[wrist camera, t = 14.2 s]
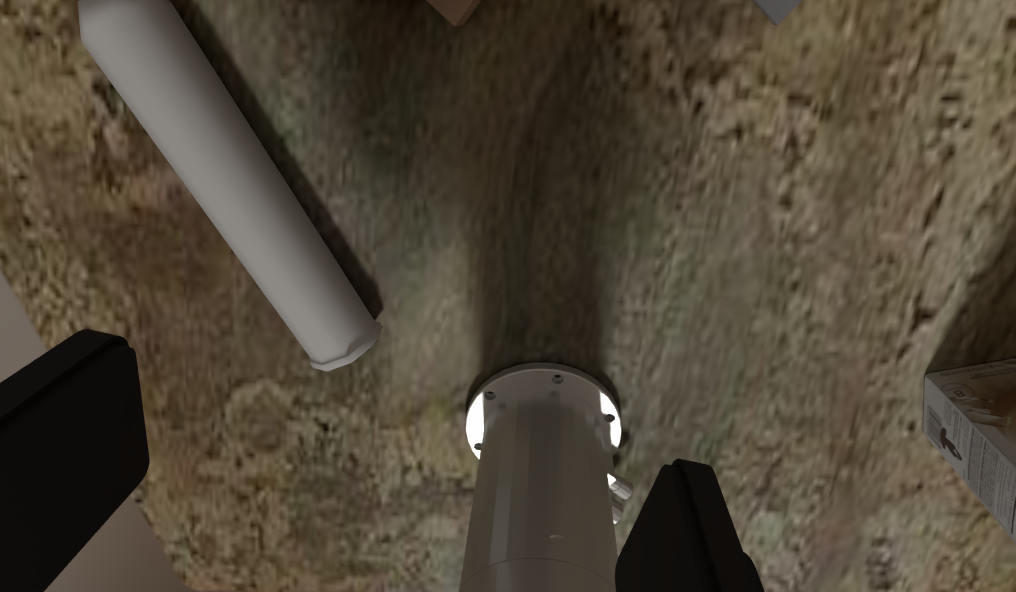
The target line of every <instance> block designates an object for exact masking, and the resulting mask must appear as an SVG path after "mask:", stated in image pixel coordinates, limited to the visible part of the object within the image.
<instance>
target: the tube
mask: <svg viewBox="0 0 1016 592" xmlns="http://www.w3.org/2000/svg"><path fill="white" fill-rule="evenodd" d="M78 10H79V22H80V33H81V42H82V43H83V44H84V46H85V47H86V49H87V50H88V51H89V53H90V54H91V56H92V57H93V58H94V60H95V61H96V62H97V64H98V65H99V67H100V68H101V69H102V71H103V72H104V73H105V75H106V76H107V78H108V79H109V80H110V82H111V83H112V84H113V86H114V87H115V89H116V90H117V91H118V93H119V94H120V96H121V97H122V98H123V100H124V101H125V102H126V104H127V105H128V107H129V108H130V109H131V111H132V112H133V113H134V115H135V116H136V118H137V119H138V120H139V122H140V123H141V125H142V126H143V127H144V129H145V130H146V131H147V133H148V134H149V136H150V137H151V138H152V140H153V141H154V142H155V144H156V145H157V147H158V148H159V149H160V151H161V152H162V153H163V155H164V156H165V158H166V159H167V160H168V162H169V163H170V165H171V166H172V167H173V169H174V170H175V171H176V173H177V174H178V176H179V177H180V178H181V180H182V181H183V182H184V184H185V185H186V187H187V188H188V189H189V191H190V192H191V193H192V195H193V196H194V198H195V199H196V200H197V202H198V203H199V205H200V206H201V207H202V209H203V210H204V211H205V213H206V214H207V216H208V217H209V218H210V220H211V221H212V222H213V224H214V225H215V227H216V228H217V229H218V231H219V232H220V233H221V235H222V236H223V238H224V239H225V240H226V242H227V243H228V245H229V246H230V247H231V249H232V250H233V251H234V253H235V254H236V256H237V257H238V258H239V260H240V261H241V262H242V264H243V265H244V267H245V268H246V269H247V271H248V272H249V274H250V275H251V276H252V278H253V279H254V280H255V282H256V283H257V285H258V286H259V287H260V289H261V290H262V291H263V293H264V294H265V296H266V297H267V298H268V300H269V301H270V302H271V304H272V305H273V307H274V308H275V309H276V311H277V312H278V314H279V315H280V316H281V318H282V319H283V320H284V322H285V323H286V325H287V326H288V327H289V329H290V330H291V331H292V333H293V334H294V336H295V337H296V338H297V340H298V341H299V342H300V344H301V345H302V347H303V348H304V349H305V351H306V352H307V354H308V355H309V357H310V358H311V361H310V364H311V365H312V367H313V368H316V369H320V370H324V371H330V370H332V369H335V368H338V367H341V366H344V365H346V364H349V363H352V362H353V361H354V360H356V359H357V358H358V357H359V356H360V355H361V354H363V353H364V352H365V351H366V350H367V349H369V348H370V347H371V346H372V345H373V344H374V343H375V341H376V339H377V337H378V336H379V334H380V332H381V330H382V328H383V327H382V325H381V324H380V322H375V320H374V319H373V318H372V316H371V315H370V313H369V311H368V310H367V308H366V307H365V305H364V304H363V302H362V300H361V299H360V297H359V296H358V294H357V293H356V291H355V290H354V288H353V286H352V285H351V283H350V282H349V280H348V279H347V277H346V275H345V274H344V272H343V271H342V269H341V268H340V266H339V264H338V263H337V261H336V260H335V258H334V257H333V255H332V254H331V252H330V250H329V249H328V247H327V246H326V244H325V243H324V241H323V239H322V238H321V236H320V235H319V233H318V232H317V230H316V228H315V227H314V225H313V224H312V222H311V221H310V219H309V218H308V216H307V214H306V213H305V211H304V210H303V208H302V207H301V205H300V203H299V202H298V200H297V199H296V197H295V196H294V194H293V192H292V191H291V189H290V188H289V186H288V185H287V183H286V182H285V180H284V178H283V177H282V175H281V174H280V172H279V171H278V169H277V167H276V166H275V164H274V163H273V161H272V160H271V158H270V157H269V155H268V153H267V152H266V150H265V149H264V147H263V146H262V144H261V142H260V141H259V139H258V138H257V136H256V135H255V133H254V131H253V130H252V128H251V127H250V125H249V124H248V122H247V121H246V119H245V117H244V116H243V114H242V113H241V111H240V110H239V108H238V106H237V105H236V103H235V102H234V100H233V99H232V97H231V95H230V94H229V92H228V91H227V89H226V88H225V86H224V85H223V83H222V81H221V80H220V78H219V77H218V75H217V74H216V72H215V70H214V69H213V67H212V66H211V64H210V63H209V61H208V59H207V58H206V56H205V55H204V53H203V52H202V50H201V49H200V47H199V45H198V44H197V42H196V41H195V39H194V38H193V36H192V34H191V33H190V31H189V30H188V28H187V27H186V25H185V24H184V22H183V20H182V19H181V17H180V16H179V14H178V13H177V11H176V9H175V8H174V6H173V5H172V3H171V2H170V1H168V0H80V1H78Z"/></svg>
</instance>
